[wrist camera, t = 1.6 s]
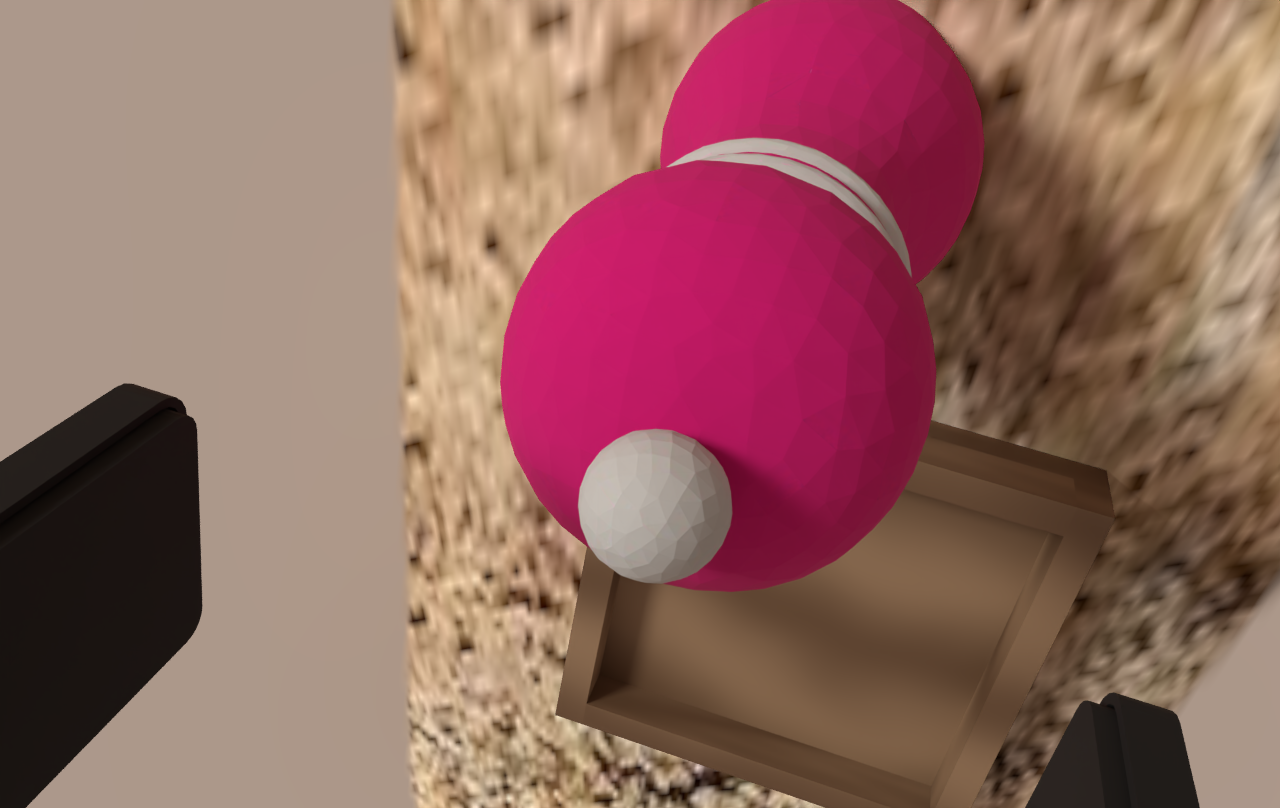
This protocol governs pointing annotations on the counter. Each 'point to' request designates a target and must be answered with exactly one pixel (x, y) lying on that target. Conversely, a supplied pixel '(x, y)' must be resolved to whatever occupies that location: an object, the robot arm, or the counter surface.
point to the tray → (857, 639)
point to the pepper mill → (752, 304)
